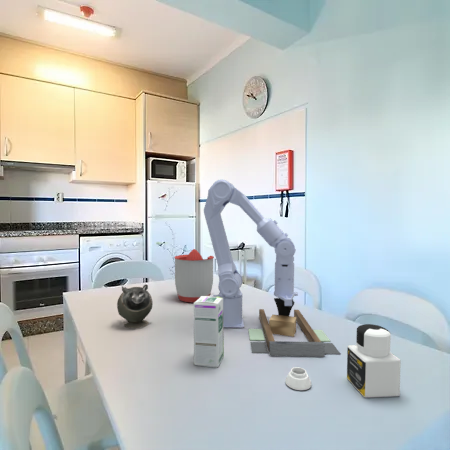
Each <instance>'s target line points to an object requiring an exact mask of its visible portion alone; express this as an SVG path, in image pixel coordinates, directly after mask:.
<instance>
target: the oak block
mask: <svg viewBox="0 0 450 450" xmlns="http://www.w3.org/2000/svg"><path fill="white" fill-rule="evenodd" d="M268 323H269V326H270V329H271V331H272V334H273V335H277V336H285V337H292V338H294V337H295V336H296V332H297V321H296V317H294V316H291V315H289V316H282V315H278V314H272V315H271V316H270V318H269V319H268Z"/></svg>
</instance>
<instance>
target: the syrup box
mask: <svg viewBox="0 0 450 450" xmlns="http://www.w3.org/2000/svg"><path fill="white" fill-rule="evenodd" d="M224 336H225V335H224V327H223V297H217V296H213V295H210V296H201V297H200V298H199V299H198V300H196V301H195V302H194V303H193V364H194V365H195V366H199V367H207V368H219V367H220V364H221V363H222V361H223V359H224V353H225V352H224V350H225V349H224V348H225V347H224V338H225V337H224Z"/></svg>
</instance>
